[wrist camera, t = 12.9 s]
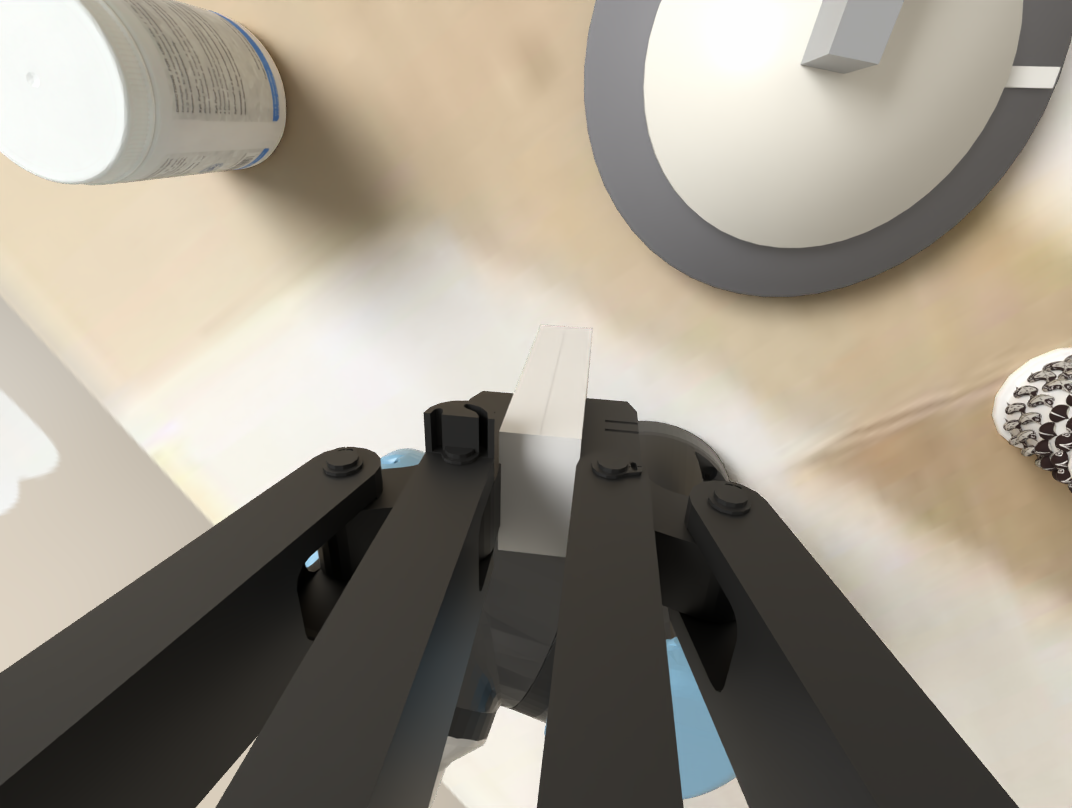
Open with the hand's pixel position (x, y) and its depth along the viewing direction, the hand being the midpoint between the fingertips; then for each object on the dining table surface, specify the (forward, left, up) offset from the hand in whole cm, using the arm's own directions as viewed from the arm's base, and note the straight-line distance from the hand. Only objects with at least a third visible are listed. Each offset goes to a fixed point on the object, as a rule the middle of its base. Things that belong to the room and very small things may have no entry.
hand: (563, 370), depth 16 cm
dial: (+12, -12, -23) cm, 29 cm away
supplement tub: (+8, +26, -27) cm, 38 cm away
